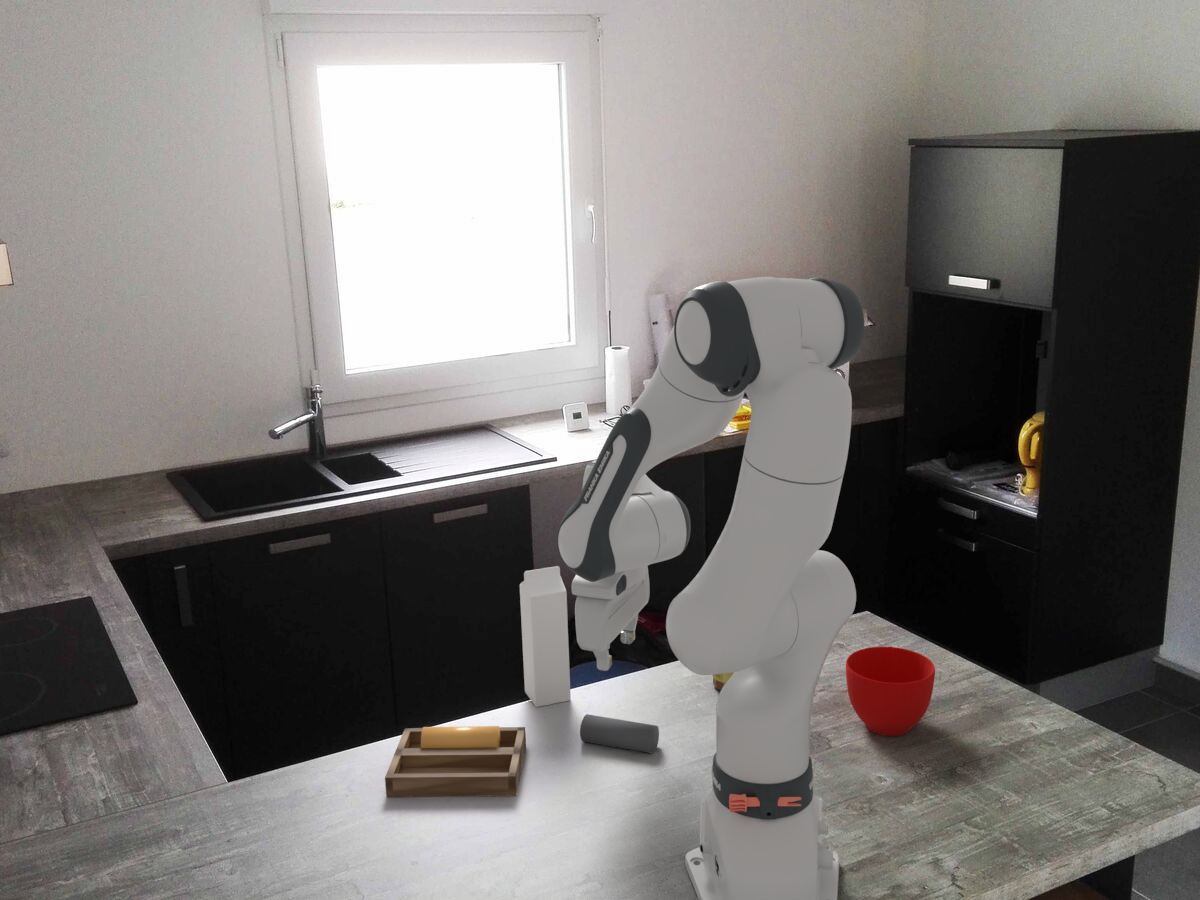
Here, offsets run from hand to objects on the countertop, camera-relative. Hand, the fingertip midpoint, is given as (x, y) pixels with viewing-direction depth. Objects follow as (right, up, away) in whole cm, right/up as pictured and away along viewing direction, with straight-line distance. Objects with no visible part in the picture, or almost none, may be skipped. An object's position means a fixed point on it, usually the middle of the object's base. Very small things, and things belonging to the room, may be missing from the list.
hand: (616, 654), depth 169 cm
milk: (-11, -10, +19) cm, 25 cm away
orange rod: (-23, -14, +1) cm, 26 cm away
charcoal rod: (+1, -14, +3) cm, 15 cm away
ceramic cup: (+42, -12, +9) cm, 44 cm away
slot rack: (-23, -16, -2) cm, 28 cm away
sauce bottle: (+19, -9, +21) cm, 30 cm away
